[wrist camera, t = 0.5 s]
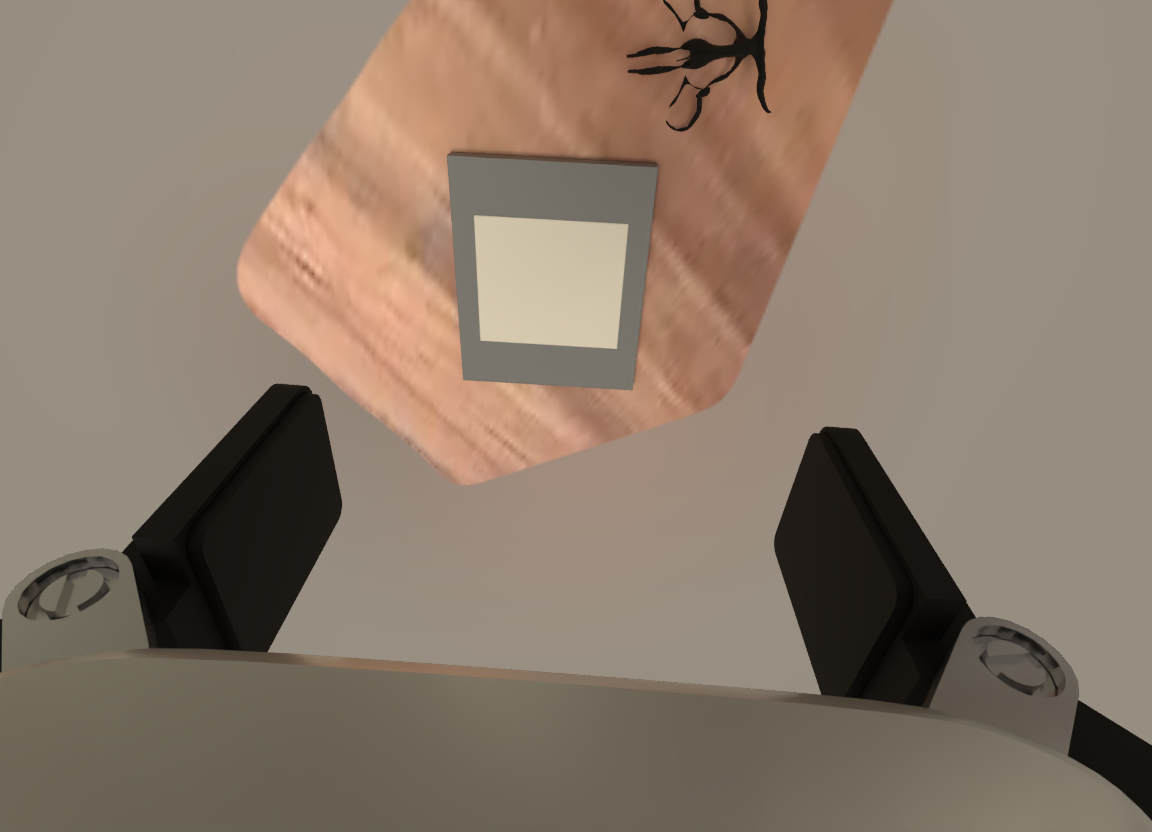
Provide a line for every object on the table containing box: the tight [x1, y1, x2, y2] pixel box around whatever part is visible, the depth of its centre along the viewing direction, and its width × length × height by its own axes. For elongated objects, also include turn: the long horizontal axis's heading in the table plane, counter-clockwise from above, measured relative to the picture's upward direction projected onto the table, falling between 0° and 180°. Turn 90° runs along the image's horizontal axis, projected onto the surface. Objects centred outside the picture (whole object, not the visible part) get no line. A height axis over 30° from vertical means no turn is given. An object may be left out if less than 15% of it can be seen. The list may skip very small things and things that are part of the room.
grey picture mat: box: [447, 152, 658, 390], centre depth 41 cm, size 16×13×1 cm
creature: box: [627, 0, 771, 131], centre depth 32 cm, size 8×5×8 cm
